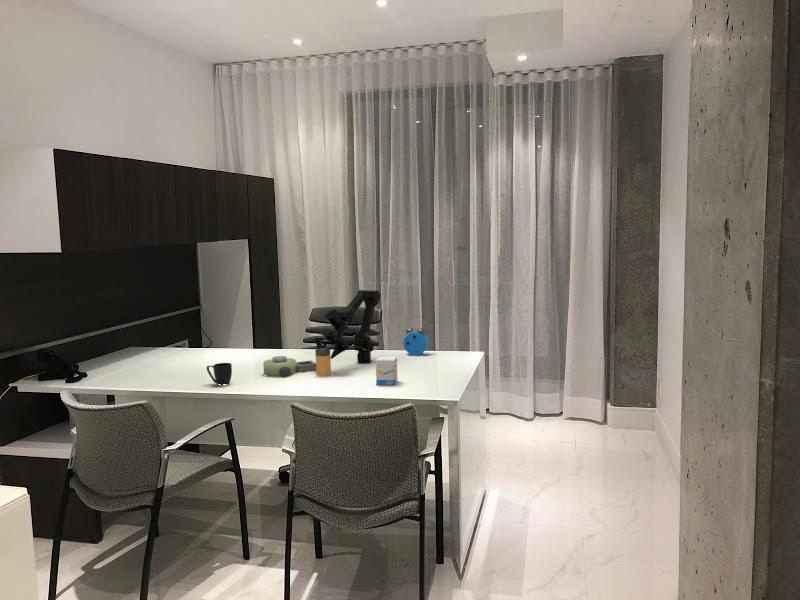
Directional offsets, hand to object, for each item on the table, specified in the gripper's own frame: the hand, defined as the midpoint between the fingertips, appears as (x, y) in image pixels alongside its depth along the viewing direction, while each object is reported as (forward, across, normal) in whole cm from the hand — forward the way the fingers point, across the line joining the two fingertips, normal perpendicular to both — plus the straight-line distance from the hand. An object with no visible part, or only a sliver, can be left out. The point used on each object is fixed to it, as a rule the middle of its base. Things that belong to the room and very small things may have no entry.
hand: (323, 357), depth 317 cm
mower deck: (+8, -21, +4) cm, 23 cm away
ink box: (+6, +37, +7) cm, 38 cm away
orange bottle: (+7, 0, +6) cm, 9 cm away
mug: (+33, -32, -20) cm, 50 cm away
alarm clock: (-38, +14, +50) cm, 64 cm away
